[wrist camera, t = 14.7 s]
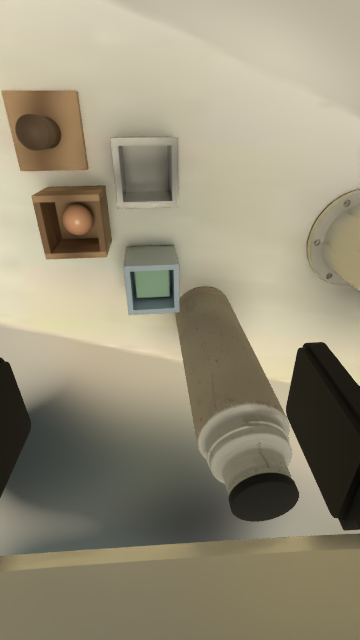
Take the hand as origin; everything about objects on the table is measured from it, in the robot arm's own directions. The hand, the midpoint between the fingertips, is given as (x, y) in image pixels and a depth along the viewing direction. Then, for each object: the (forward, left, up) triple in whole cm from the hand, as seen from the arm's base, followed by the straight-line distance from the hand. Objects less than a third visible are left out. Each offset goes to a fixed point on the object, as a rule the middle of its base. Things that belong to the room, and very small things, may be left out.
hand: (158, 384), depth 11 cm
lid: (+10, -7, -32) cm, 34 cm away
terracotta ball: (+8, +1, -31) cm, 32 cm away
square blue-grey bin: (0, +8, -32) cm, 33 cm away
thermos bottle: (-7, +15, -32) cm, 36 cm away
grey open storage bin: (0, -4, -32) cm, 32 cm away
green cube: (0, +8, -31) cm, 32 cm away
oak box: (+8, +1, -32) cm, 33 cm away
